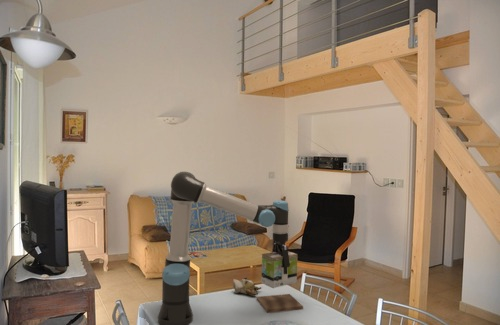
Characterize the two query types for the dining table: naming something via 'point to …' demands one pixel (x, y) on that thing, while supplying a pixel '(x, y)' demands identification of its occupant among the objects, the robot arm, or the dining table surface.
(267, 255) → the tea box
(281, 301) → the walnut board
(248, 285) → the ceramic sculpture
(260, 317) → the dining table surface
